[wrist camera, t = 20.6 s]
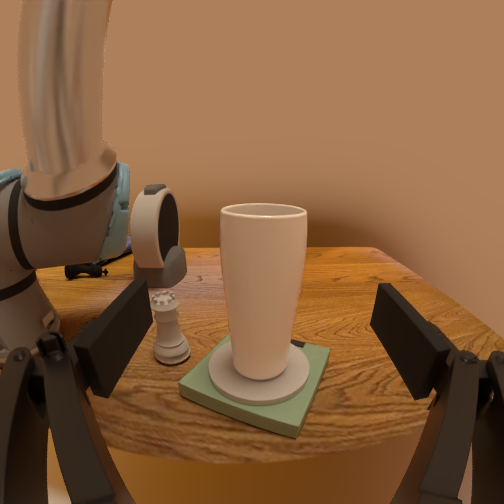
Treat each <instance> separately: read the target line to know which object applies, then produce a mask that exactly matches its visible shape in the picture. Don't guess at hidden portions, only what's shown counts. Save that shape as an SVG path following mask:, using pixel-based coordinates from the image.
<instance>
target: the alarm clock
mask: <svg viewBox="0 0 504 504" xmlns="http://www.w3.org/2000/svg"><path fill="white" fill-rule="evenodd" d="M179 224H180V222H179V212H178V205H177V201H176V198H175V195H174V193H173V192H172V191H171V190H170V189H166V186H165V185H164V184H157V185H156V184H155V185H147V186H146V187H145V189H144V190H143V191H142V192H141V193H140V194H139V195H138V197H137V198H136V200H135V203H134V206H133V209H132V214H131V220H130V242H131V247H132V252H133V256H134V279H139V280H147V286H148V287H163V288H169V287H172V286H174V285H176V284H177V283H178V282H179V281H181V280H182V279H183V277H184V276H185V275H186V272H187V267H186V257H185V251H184V249H183V248H182V247H180V246H179V236H180V225H179Z"/></svg>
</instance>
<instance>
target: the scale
mask: <svg viewBox="0 0 504 504" xmlns="http://www.w3.org/2000/svg"><path fill="white" fill-rule="evenodd" d="M330 350H331V348H327V347H322V346H317V345H313V344H308V343H305V342H301V341H296V340H292V339H291V342H290V347H289V353H288V362H287V366H286V368H285V369H284V371H283V372H282V373H281V374H279V375H278V376H276V377H274V378H271V379H267V380H254V379H250V378H247V377H244V376H243V375H241V374H240V373H238V372H237V371H236V369H235V368H234V366H233V362H232V347H231V339H230V333H229V334H228V335H227V336H226V337H225V338H224V339H223V340H222V341H221V342H220V343H219V344H218V345H217V346H216V347H215V348H214V349H213V350H211V351H210V352H209V353H208V354H207V355H206V356H205V357H204V358H203V359H202V360H201V361H200V362H199V363H198V364H197V365H196V366H195V367H194V368H193V369H192V370H191V371H190V372H189V373H187V374H186V375H185V376H184V377H183V378H182V379H181V380H180V381H179V382H178V384H179V389H180V393H181V396H183V397H185V398H187V399H189V400H192V401H194V402H196V403H198V404H200V405H203V406H205V407H207V408H210V409H212V410H214V411H217V412H219V413H221V414H224V415H226V416H229V417H232V418H234V419H237V420H239V421H242V422H245V423H248V424H250V425H253V426H256V427H259V428H262V429H265V430H268V431H271V432H275V433H278V434H281V435H285V436H288V437H292V438H295V439H296V438H297V436H298V434H299V431H300V429H301V427H302V425H303V423H304V420H305V418H306V416H307V413H308V411H309V409H310V406H311V404H312V402H313V399H314V397H315V394H316V392H317V389H318V387H319V384H320V382H321V379H322V376H323V374H324V371H325V368H326V366H327V363H328V359H329V354H330Z"/></svg>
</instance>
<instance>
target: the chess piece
mask: <svg viewBox="0 0 504 504" xmlns="http://www.w3.org/2000/svg"><path fill="white" fill-rule="evenodd" d="M80 273H87V274H89V275H91V276H93V275H95V276H97V277H98V276H100V275H102V273H105V275H107V273H108V271H107V269H105V270H104V271H102V268H101V267H100V266H96V267H94V266H93V265H91V266H88V267H84V266H81V265H80V264H75V265H66V266H65V276H66V277H67V278H70V277H73V276H75V275H78V274H80Z"/></svg>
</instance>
